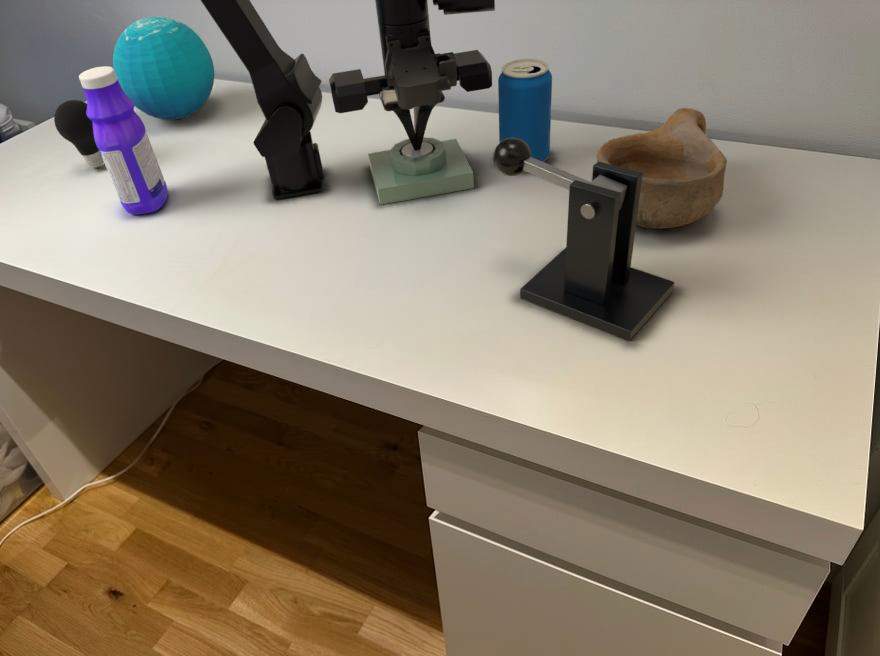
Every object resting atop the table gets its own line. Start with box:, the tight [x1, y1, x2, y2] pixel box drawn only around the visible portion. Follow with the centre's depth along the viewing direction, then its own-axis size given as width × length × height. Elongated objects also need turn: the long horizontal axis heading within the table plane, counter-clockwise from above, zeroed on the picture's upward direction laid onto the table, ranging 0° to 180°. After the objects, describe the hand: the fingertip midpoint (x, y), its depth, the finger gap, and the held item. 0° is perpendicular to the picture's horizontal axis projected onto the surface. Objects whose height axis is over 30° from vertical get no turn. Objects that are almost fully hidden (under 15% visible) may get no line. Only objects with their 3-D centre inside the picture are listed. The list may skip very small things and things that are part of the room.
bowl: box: [596, 107, 728, 229], centre depth 78 cm, size 18×14×10 cm
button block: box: [367, 136, 475, 206], centre depth 90 cm, size 12×10×4 cm
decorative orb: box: [112, 15, 215, 121], centre depth 110 cm, size 15×15×15 cm
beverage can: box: [497, 58, 553, 162], centre depth 88 cm, size 6×6×12 cm
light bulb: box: [53, 99, 104, 170], centre depth 100 cm, size 6×6×10 cm
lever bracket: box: [519, 161, 675, 342], centre depth 66 cm, size 12×9×13 cm
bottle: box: [78, 65, 168, 215], centre depth 88 cm, size 7×6×17 cm
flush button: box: [402, 142, 433, 158], centre depth 89 cm, size 4×4×2 cm
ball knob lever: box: [492, 137, 627, 210], centre depth 65 cm, size 13×4×4 cm, turn 50°
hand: (416, 148), depth 88 cm, fingers closed, pressing on flush button
